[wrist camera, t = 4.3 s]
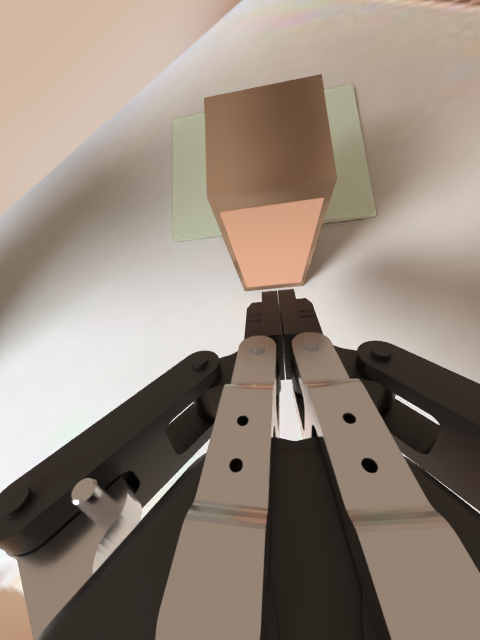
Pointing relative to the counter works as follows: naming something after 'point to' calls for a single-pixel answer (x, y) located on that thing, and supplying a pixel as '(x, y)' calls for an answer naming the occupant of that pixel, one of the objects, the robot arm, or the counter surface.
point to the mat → (349, 155)
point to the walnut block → (270, 177)
